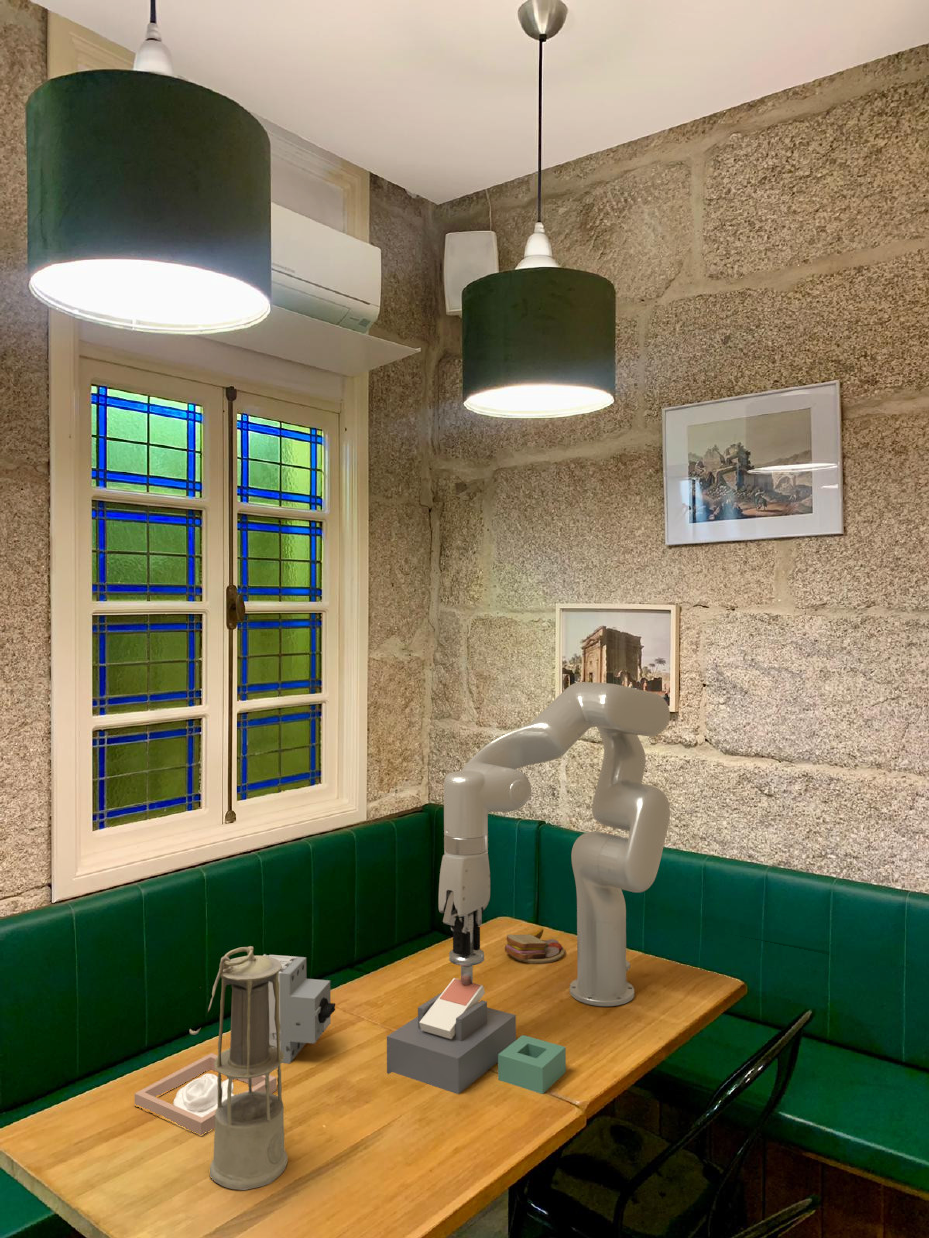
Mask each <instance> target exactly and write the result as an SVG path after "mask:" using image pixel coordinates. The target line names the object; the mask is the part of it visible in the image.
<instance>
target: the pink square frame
mask: <svg viewBox="0 0 929 1238" xmlns="http://www.w3.org/2000/svg"><path fill="white" fill-rule="evenodd" d="M217 1056H218V1054H214V1053H212V1052H210V1053H209V1054H207V1055H204V1056H202V1058H201V1057H200V1058H199V1059H198V1060H194V1061H193V1062H191V1063H189V1064H188V1065H186V1066H184V1067H181V1068H180V1069H179V1070H175V1071H174V1072H173V1073H170V1074H169V1075H166V1076H165V1077H163V1078H161V1079H159V1080H158V1081H156V1082H154V1083H151V1084H150V1085H148V1086H146V1087H144V1088H142V1089H140V1090H138V1091H136V1092H134V1105H135V1104H136V1105H139V1106H141V1107H143V1108H145V1109H149V1110H150V1111H152V1112H155V1113H156V1114H159V1115H162V1116H164V1117H165V1118H167V1119H170V1120H171V1121H173V1122H176V1123H177V1124H178V1125H180V1126H183V1127H185V1128H186V1129H189V1130H191V1131H193V1132H196V1133H198V1134H200V1135H202V1134H204V1133H205V1132H208V1131H210V1130H211V1129H213V1130H215V1129H214V1128H215V1112H216V1109H215V1110H214V1111H212V1112H210V1113H209V1114H207V1115H205V1116H204V1117H200V1116H197V1115H195V1114H193V1113H191V1112H188V1111H186V1110H184V1109H181V1108H179V1107H177V1106H174V1105H173V1104H172V1103H169V1102H168V1101H165V1100H163V1099H160V1098H156V1096H157V1095H161V1094H162V1093H164V1092H166V1091H169V1090H171V1089H172V1088H175V1089H177V1088H179V1087H180V1086H179V1085H181V1086H183V1085H185V1084H186V1083H187V1082H186V1081H188V1082H190V1081H191V1079H192V1078H194V1079H196V1078H197V1077H199V1076H200V1075H199V1074H201V1075H203V1074H204V1073H203V1072H205V1071H207V1072H209V1071H210V1070H212V1071H215V1072H217V1070H216V1068H215V1065H214V1063H215V1060H216V1058H217ZM202 1073H203V1074H202ZM205 1073H206V1072H205ZM198 1075H199V1076H198ZM196 1076H197V1077H196ZM195 1077H196V1078H195ZM265 1077H266V1076H265V1075H263V1076H259V1077H255V1078H252V1091H261V1092H266V1088H265ZM189 1080H190V1081H189ZM192 1080H193V1079H192ZM237 1081H241V1082H242V1081H244V1082H243V1083H245V1082H246V1083H245V1084H247V1085H248V1079H238V1080H237ZM185 1082H186V1083H185ZM184 1083H185V1084H184ZM182 1084H183V1085H182ZM178 1086H179V1087H178ZM176 1087H177V1088H176ZM276 1091H277V1077H276V1076H274V1075H271V1074H269V1093H271V1094H273V1093H274V1092H276ZM245 1092H249V1089H247V1090H245ZM211 1131H212V1130H211ZM211 1131H210V1132H211ZM208 1133H209V1132H208Z"/></svg>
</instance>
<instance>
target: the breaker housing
mask: <svg viewBox="0 0 929 1238" xmlns="http://www.w3.org/2000/svg"><path fill="white" fill-rule="evenodd" d="M442 993H443V991H441V992H440V993H438V994H437V995H435V996H434V997H432V998H430V999H428V1001H425V1002H424V1003H423V1004H421V1005H420V1006H418V1007H417V1016H416V1017H415V1018H413V1019H411V1020H410V1021H408V1022H407V1023H405V1024H404V1025H402V1026H401V1027H398V1028H397V1029H396V1030H394V1031H393V1032H391V1033H390V1034H388V1035H386V1074H388V1075H389V1074H391V1073H395V1074H397V1075H400V1076H402V1077H406V1078H409V1079H411V1080H415V1081H418V1082H421V1083H424V1084H426V1085H429V1086H432V1087H436V1088H438V1089H441V1090H444V1091H447V1092H451V1093H453V1094H456V1095H460V1094H461V1093H462V1092H463V1091H465V1090H466V1089H467V1088H468V1087H470V1086H471V1085H472V1084H474V1082H476V1081H477V1080H479V1078H481V1077H482V1076H483V1075H484V1074H485V1073H486V1072H488V1071H489V1070H490V1069H491V1068H493V1066H495V1065H496V1064H498V1054H499V1053H501V1052H502V1051H503V1050H504V1049H506V1048H507V1047H508V1046H509V1045H511V1044H512V1043H513V1042H514V1041H516V1040H517V1028H516V1027H517V1023H516V1022H517V1020H516V1018H517V1015H516V1014H515V1013H514V1014H513V1013H511V1012H510V1013H509V1012H507V1011H506V1012H505V1011H502V1010H498V1009H495V1008H491V1007H488V1001H486V1000H480V1001H479V1002H478V1003H477V1004H476V1005H474V1006H473V1007H471V1008H470V1009H469V1010H467V1011H466V1012H464V1013H463V1014H461V1015H460V1016H458V1017H457V1018H456V1034H455V1035H454V1036H453V1038H452V1039H449V1038H446V1037H442V1036H439V1035H435V1034H432V1033H429V1032H425V1031H422V1030H421V1027H420V1024H419V1022H420V1021H421V1019H422V1018H423V1017H424V1016H425V1014H426V1013H427V1012H428V1010H429V1009H430V1008H431V1007H432V1005H433V1004H434V1003H435V1001H436V1000H437V999H438V998H439V996H440V995H441V994H442Z"/></svg>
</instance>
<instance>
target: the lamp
mask: <svg viewBox="0 0 929 1238" xmlns="http://www.w3.org/2000/svg"><path fill="white" fill-rule="evenodd" d="M242 952H246V954H247V955H244V956H239V957H235V958H231V959H230V957H231V956H232V955H234V954H237V953H242ZM268 956H269V955H268ZM268 956H263V955H254V946H251V945H250V946H243V947H242V946H241V947H238V948H235V949H232V950H229V951H228V952H226V953H225V954H224V956H222V957H221V958H220V963H219V969H218V972H217V975H216V978H215V981H214V984H213V986H212V992H211V995H212V997H211V998H210V1003H209V1006H208V1008H207V1013H209V1012H210V1009H211V1008H212V1003H213V999H214V997H215V994H216V990H217V987H218V984H219V981H220V978H221V994H220V1005H219V1006H220V1010H219V1011H220V1014H219V1029H218V1031H219V1032H218V1040H217V1049H218V1050H217V1055H218V1056H217V1058H216V1060H215V1063H214V1065H215V1068H216V1070H217V1071H218V1072H217V1071H216V1072H217V1073H218V1075H217V1077H218V1079H217V1084H218V1107H217V1109H216V1112H215V1129H214V1135H213V1136H214V1138H213V1140H214V1141H213V1159H212V1161H211V1163H210V1166H209V1169H210V1177H212V1179H211V1181H213V1180H215V1181H214V1183H216V1184H218V1185H219V1186H222V1187H224V1188H227V1189H231V1190H239V1191H247V1190H251V1189H256V1188H261V1187H264V1186H266V1185H269V1184H271V1183H273V1182H274V1181H275V1180H277V1178H279V1177H280V1176H281V1175H282V1174H283V1173H284V1171H285V1169H286V1168H287V1164H288V1154H287V1152H286V1150H285V1123H284V1122H285V1121H284V1117H285V1116H284V1113H285V1111H284V1110H285V1109H284V1103H283V1098H282V1097H283V1095H282V1089H283V1086H282V1069H281V1065H282V1064H283V1063H282V1062H283V1059H284V1054H283V1052H282V1051H281V1050H280V1028H281V1027H280V1022H279V982H278V975H279V971H280V970H281V968H282V965H281V962H280V961H279V960H277V959H275V958H272V957H268ZM269 981H270V982H272V983H273V991H274V997H275V1015H274V1019H275V1026H276V1033H277V1047H275V1046H272V1045H270V1043H269V1031H270V1025H269V986H268V984H269ZM229 985H231V990H232V991H231V1010H230V1011H231V1014H230V1047H229V1048H227V1049H225V1050H223V1051H222V1044H223V1031H224V1030H223V1029H224V1028H223V1027H224V1012H225V998H226V988H227V986H229ZM201 987H202V986H201ZM201 987H199V988H200V989H201ZM200 1031H201V1028H199V1029H197V1030H196V1031H195V1030H192V1029H191V1028H190V1029H189V1034H190V1035H194V1036H195V1035H197V1034H199V1032H200ZM272 1047H274V1048H272ZM274 1070H276V1071H277V1072H276V1073H277V1077H276V1082H277V1084H276V1089H277V1095H276V1094H273V1093H269V1075H271V1073H272V1072H273V1071H274ZM222 1075H223V1076H225V1077H227V1079H229V1080H228V1088H227V1094H228V1095H227V1099H226V1100H224V1101H223V1102H222V1088H221V1082H222ZM263 1075H265V1076H266V1077H265V1088H266V1092H261V1091H252V1087H253V1085H252V1078H255V1077H259V1076H263ZM237 1079H248V1084H247V1085H248V1090H249V1092H246V1091H244V1092H240V1093H238V1094H234V1096H231V1088H232V1082H233V1080H237ZM210 1177H209V1178H210Z"/></svg>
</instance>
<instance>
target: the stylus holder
mask: <svg viewBox="0 0 929 1238" xmlns="http://www.w3.org/2000/svg"><path fill="white" fill-rule="evenodd" d="M566 1052H567V1051H566V1046H563V1045H560V1044H557V1043H552V1042H549V1041H546V1040H542V1039H538V1038H534V1037H531V1036H527V1035H524V1034H522V1035H521V1036H520V1037H518V1038H516V1041H514V1042H513V1043H512V1044H511V1045H509V1046H508V1047H507V1048H506V1049H504V1050H503V1051H502V1052H501V1053H499V1054H498V1062H497V1067H498V1068H497V1072H498V1073H497V1077H498V1079H497V1080H498V1081H500V1082H503V1083H507V1084H510V1085H513V1086H516V1087H519V1088H522V1089H524V1090H528V1091H531V1092H535V1093H538V1094H541V1095H544V1094H545V1093H546V1091H548V1090H549V1089H550V1088H551V1087H552V1086H553V1085H554V1084H555V1083H556V1082H557V1081H558V1080H559V1079H561V1077H562V1076H564V1074H565V1073H566V1071H567V1070H566V1068H567V1063H566V1062H567V1057H566V1054H567V1053H566Z"/></svg>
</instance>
